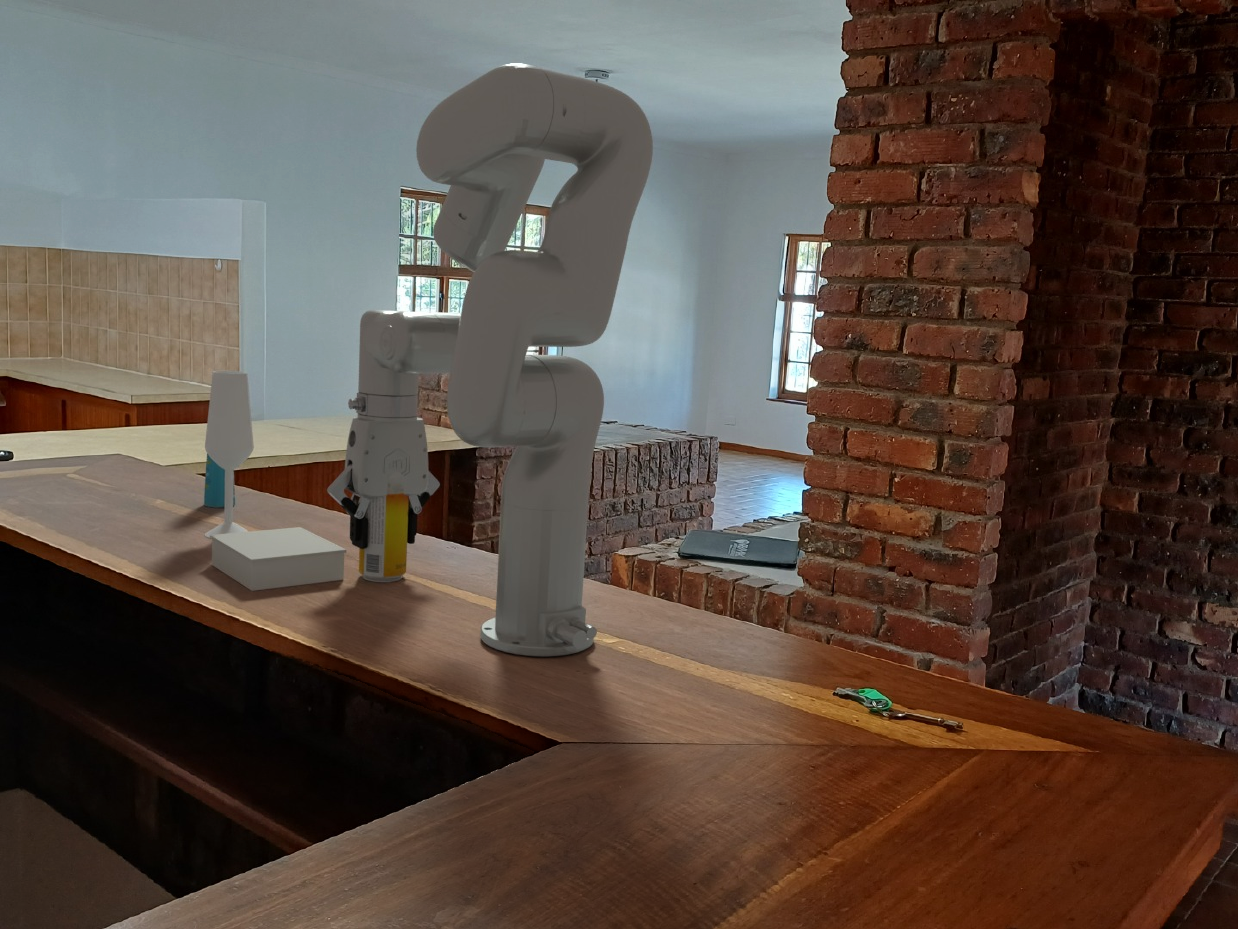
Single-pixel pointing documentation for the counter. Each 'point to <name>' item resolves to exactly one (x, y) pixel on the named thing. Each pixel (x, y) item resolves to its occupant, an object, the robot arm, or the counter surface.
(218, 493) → the tube
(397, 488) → the beer can
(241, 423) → the champagne flute
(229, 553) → the riser
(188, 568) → the counter surface
